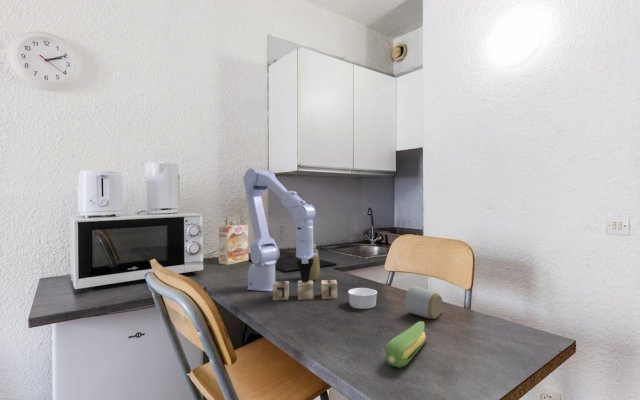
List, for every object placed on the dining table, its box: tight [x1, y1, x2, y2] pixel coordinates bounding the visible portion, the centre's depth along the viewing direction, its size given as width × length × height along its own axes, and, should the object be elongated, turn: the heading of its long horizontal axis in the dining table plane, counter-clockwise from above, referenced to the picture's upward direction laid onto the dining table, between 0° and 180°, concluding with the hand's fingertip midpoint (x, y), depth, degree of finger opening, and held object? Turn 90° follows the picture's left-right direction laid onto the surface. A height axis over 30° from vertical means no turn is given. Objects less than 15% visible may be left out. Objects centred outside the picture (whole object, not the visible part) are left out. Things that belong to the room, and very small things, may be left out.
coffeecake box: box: [218, 223, 249, 266], centre depth 177 cm, size 15×7×20 cm, turn 147°
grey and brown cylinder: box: [403, 285, 444, 320], centre depth 94 cm, size 11×8×8 cm
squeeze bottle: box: [300, 243, 321, 281], centre depth 137 cm, size 8×8×18 cm
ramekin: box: [347, 287, 378, 310], centre depth 103 cm, size 9×9×4 cm
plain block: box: [297, 280, 314, 300], centre depth 112 cm, size 5×5×5 cm
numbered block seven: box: [272, 280, 290, 301], centre depth 112 cm, size 5×5×5 cm
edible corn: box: [384, 320, 427, 369], centre depth 71 cm, size 5×20×5 cm
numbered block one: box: [320, 279, 338, 300], centre depth 113 cm, size 5×5×5 cm
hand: (305, 281), depth 112 cm, fingers closed
